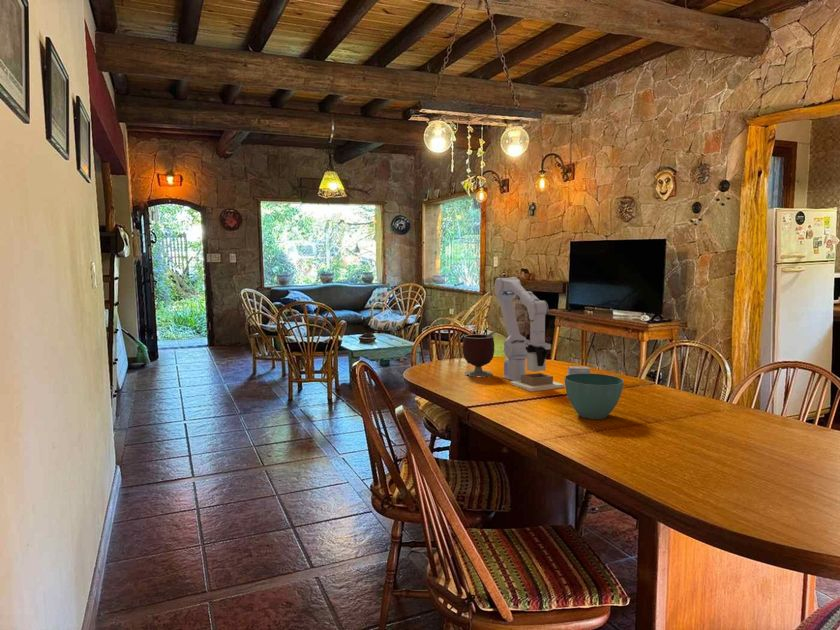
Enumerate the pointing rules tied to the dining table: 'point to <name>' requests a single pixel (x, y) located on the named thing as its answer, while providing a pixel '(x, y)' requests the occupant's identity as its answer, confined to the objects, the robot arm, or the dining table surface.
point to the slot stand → (536, 382)
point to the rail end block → (534, 363)
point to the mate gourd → (478, 352)
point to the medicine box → (578, 370)
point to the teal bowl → (593, 393)
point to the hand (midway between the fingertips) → (537, 364)
